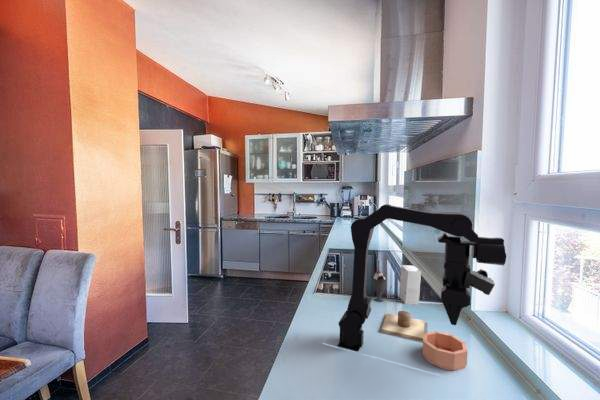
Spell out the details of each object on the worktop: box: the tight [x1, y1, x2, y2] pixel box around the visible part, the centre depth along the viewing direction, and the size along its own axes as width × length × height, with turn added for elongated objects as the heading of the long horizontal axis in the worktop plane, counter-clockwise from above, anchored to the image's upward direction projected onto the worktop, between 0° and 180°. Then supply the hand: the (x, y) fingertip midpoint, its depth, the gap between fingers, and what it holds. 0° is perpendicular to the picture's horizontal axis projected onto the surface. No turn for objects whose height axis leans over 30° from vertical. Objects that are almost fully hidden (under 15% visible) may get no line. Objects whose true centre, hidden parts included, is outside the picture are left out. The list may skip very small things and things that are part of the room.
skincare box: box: [398, 264, 422, 306], centre depth 121 cm, size 8×6×15 cm
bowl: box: [422, 330, 468, 371], centre depth 81 cm, size 11×11×5 cm
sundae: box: [370, 268, 388, 303], centre depth 120 cm, size 7×7×15 cm
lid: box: [381, 310, 426, 341], centre depth 97 cm, size 13×13×5 cm
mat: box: [377, 313, 429, 344], centre depth 97 cm, size 15×15×1 cm
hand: (453, 317), depth 75 cm, fingers open, 9 cm apart
